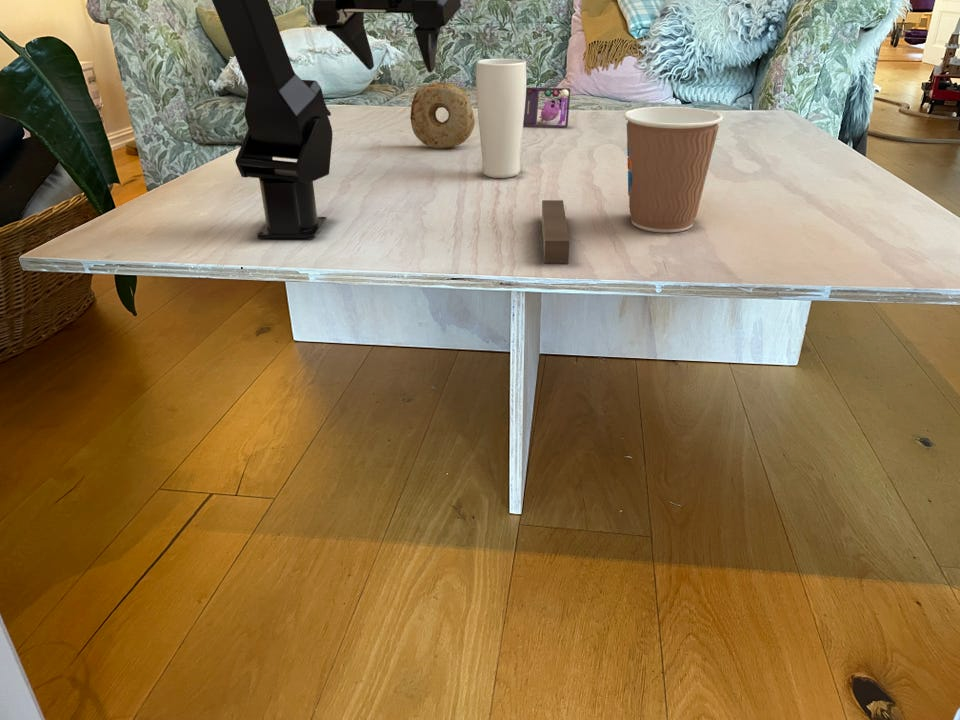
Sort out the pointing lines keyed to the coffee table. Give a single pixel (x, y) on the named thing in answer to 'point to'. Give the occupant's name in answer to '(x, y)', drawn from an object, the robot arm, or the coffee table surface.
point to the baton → (555, 232)
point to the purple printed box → (546, 106)
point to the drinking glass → (501, 114)
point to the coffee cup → (668, 164)
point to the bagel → (427, 122)
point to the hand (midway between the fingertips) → (400, 69)
